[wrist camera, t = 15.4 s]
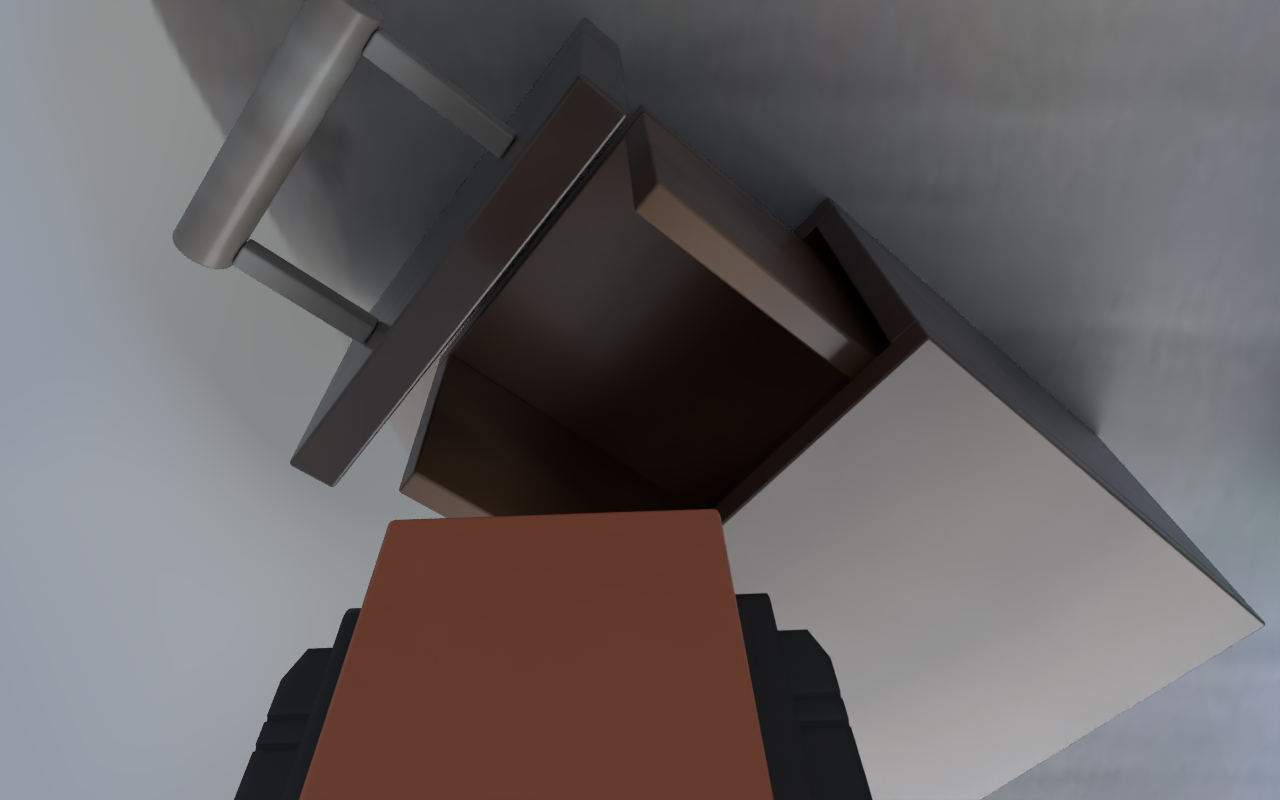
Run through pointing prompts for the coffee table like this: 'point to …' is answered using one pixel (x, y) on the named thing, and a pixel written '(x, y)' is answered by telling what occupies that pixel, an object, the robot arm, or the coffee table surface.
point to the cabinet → (966, 551)
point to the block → (546, 665)
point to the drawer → (548, 293)
